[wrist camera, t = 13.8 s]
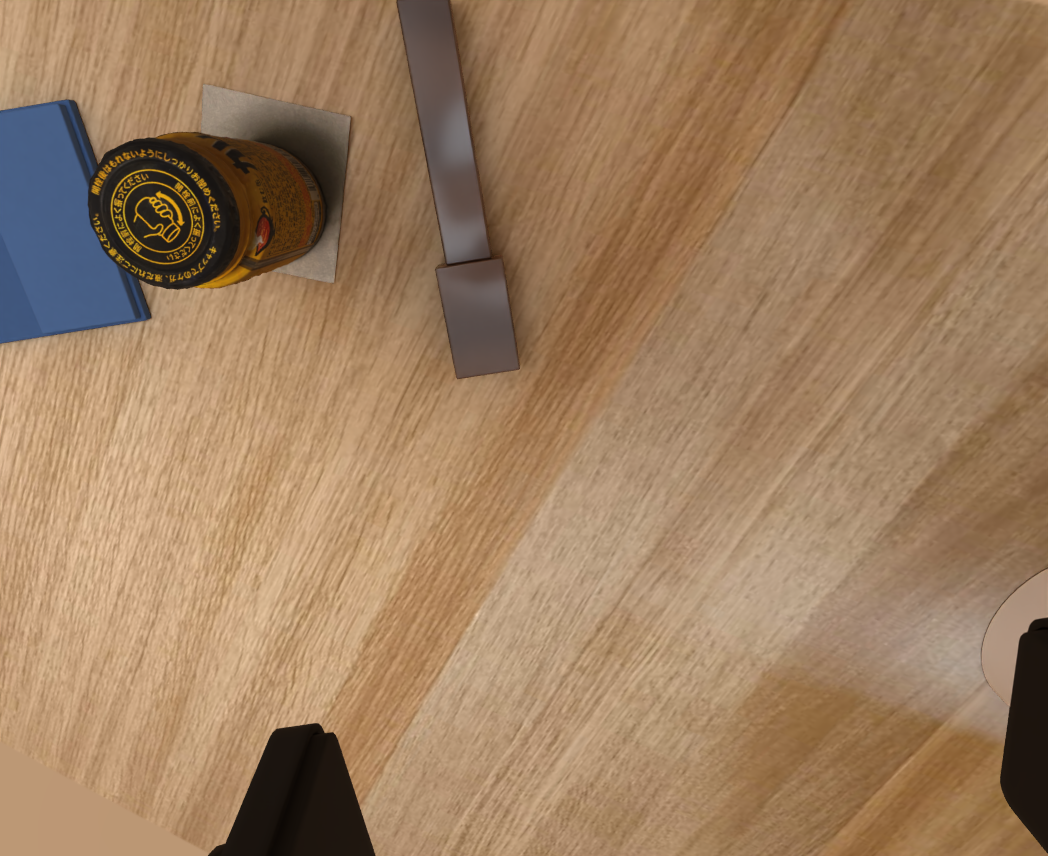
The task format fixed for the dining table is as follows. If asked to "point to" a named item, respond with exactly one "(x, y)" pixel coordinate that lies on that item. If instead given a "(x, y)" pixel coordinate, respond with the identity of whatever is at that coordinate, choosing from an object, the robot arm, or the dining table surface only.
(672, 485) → the dining table surface
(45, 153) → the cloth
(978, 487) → the dining table surface
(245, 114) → the condiment
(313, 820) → the robot arm
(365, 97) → the dining table surface
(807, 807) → the dining table surface
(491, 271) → the brown bar
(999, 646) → the canister
